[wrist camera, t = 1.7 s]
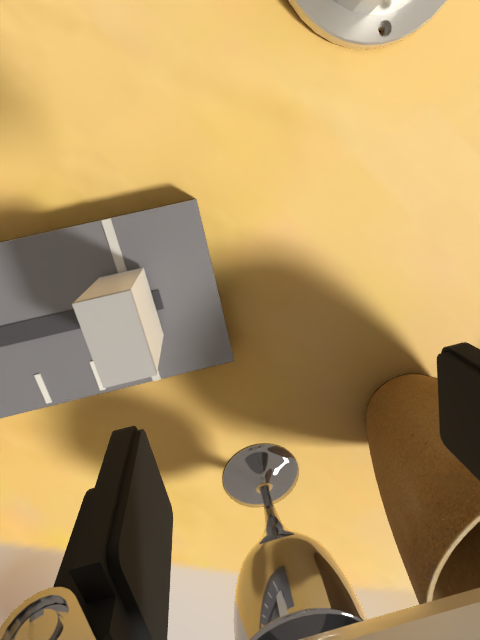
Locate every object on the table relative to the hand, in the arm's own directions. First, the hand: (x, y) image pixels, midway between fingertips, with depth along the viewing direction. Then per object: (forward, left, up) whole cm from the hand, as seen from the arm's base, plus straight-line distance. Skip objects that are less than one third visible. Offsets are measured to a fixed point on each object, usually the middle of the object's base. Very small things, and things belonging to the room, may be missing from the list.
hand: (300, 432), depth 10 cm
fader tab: (0, -7, -18) cm, 19 cm away
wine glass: (+19, -1, -20) cm, 28 cm away
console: (0, -16, -20) cm, 26 cm away
